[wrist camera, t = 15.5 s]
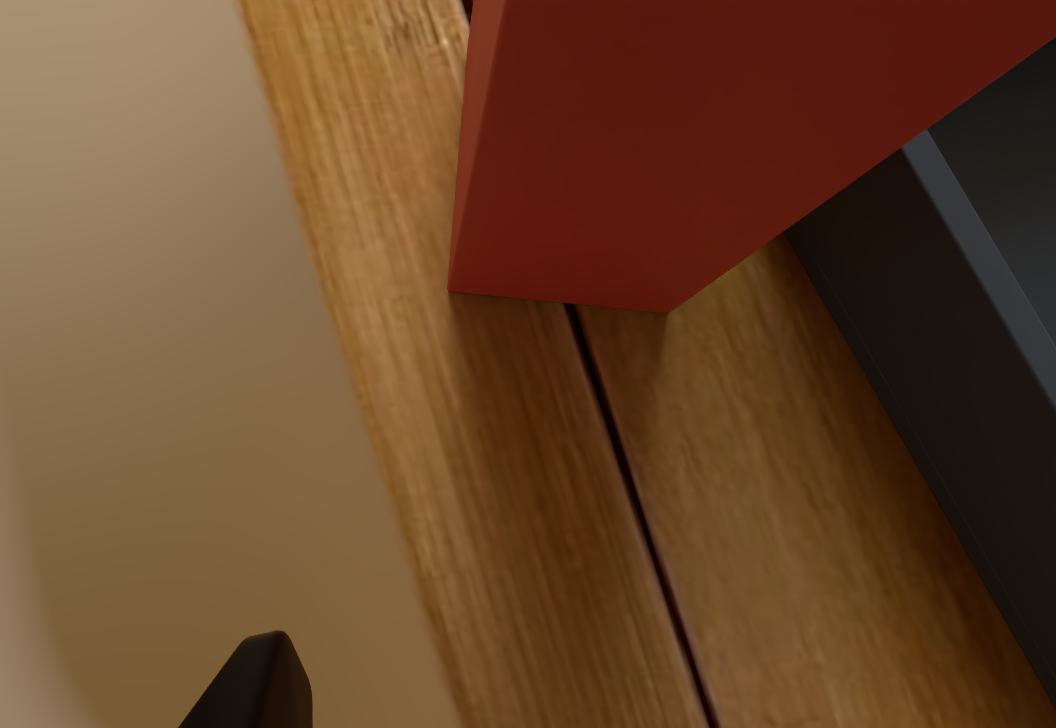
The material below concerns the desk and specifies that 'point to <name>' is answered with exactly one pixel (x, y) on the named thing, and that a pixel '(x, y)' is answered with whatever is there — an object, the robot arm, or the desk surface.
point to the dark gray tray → (965, 324)
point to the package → (692, 129)
